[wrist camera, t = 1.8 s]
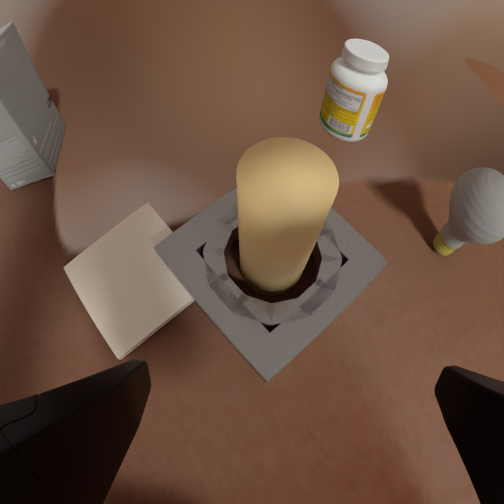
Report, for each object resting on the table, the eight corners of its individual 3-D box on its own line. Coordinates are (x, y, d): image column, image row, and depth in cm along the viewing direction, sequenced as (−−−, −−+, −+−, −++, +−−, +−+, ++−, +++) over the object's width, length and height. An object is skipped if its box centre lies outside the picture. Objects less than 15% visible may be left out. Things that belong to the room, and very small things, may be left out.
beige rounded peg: (269, 308, 23) (287, 239, 13) (227, 263, 24) (214, 169, 14) (314, 268, 24) (358, 180, 14) (272, 227, 25) (287, 124, 15)
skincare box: (56, 177, 27) (-19, 58, 13) (6, 194, 27) (-73, 95, 12) (69, 122, 31) (19, 14, 16) (22, 139, 30) (-34, 45, 16)
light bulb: (409, 217, 26) (464, 144, 17) (456, 224, 26) (515, 161, 17) (417, 275, 24) (488, 214, 15) (466, 278, 24) (539, 225, 15)
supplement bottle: (328, 144, 29) (350, 64, 20) (312, 109, 31) (326, 33, 23) (376, 142, 30) (407, 68, 21) (357, 108, 32) (379, 37, 23)
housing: (265, 382, 21) (267, 381, 19) (159, 258, 24) (153, 247, 22) (378, 271, 24) (388, 262, 22) (274, 174, 27) (276, 159, 26)
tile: (120, 359, 21) (117, 358, 20) (66, 270, 23) (63, 267, 23) (215, 284, 23) (214, 281, 23) (149, 205, 26) (147, 201, 25)
